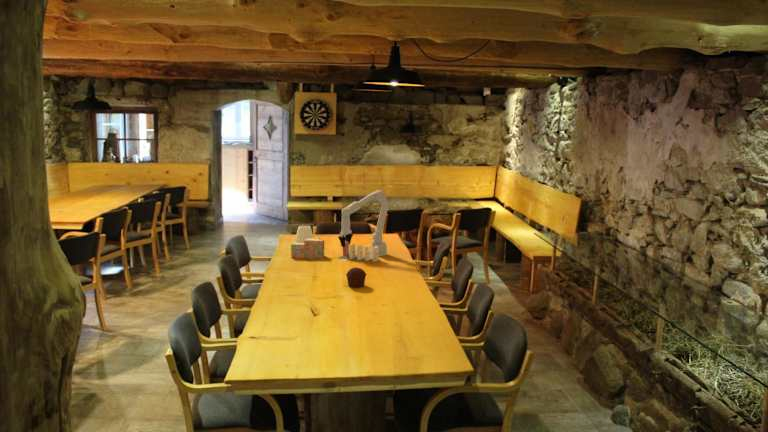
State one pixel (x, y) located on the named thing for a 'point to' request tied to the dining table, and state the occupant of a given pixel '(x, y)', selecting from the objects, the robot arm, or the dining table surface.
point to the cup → (303, 234)
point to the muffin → (356, 278)
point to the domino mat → (355, 259)
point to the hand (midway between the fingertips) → (345, 245)
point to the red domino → (346, 249)
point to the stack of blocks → (308, 249)
